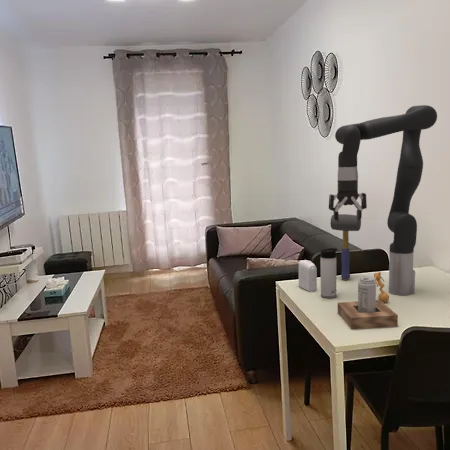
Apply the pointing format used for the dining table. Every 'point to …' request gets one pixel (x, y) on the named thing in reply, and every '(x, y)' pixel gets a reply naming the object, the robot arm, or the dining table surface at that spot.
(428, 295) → the dining table surface
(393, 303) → the dining table surface
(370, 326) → the wooden square frame
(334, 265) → the travel mug
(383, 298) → the figurine
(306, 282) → the photo printer
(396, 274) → the robot arm
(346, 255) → the rubber mallet
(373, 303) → the energy drink can
